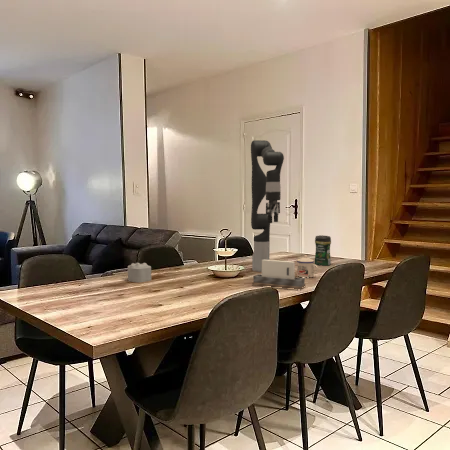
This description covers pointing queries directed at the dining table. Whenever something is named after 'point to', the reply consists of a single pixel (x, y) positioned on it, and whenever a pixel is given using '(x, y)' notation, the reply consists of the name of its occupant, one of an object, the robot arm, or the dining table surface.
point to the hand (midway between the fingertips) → (273, 222)
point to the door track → (278, 282)
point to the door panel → (278, 269)
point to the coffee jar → (322, 250)
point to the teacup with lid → (306, 267)
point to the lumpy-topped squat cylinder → (139, 272)
